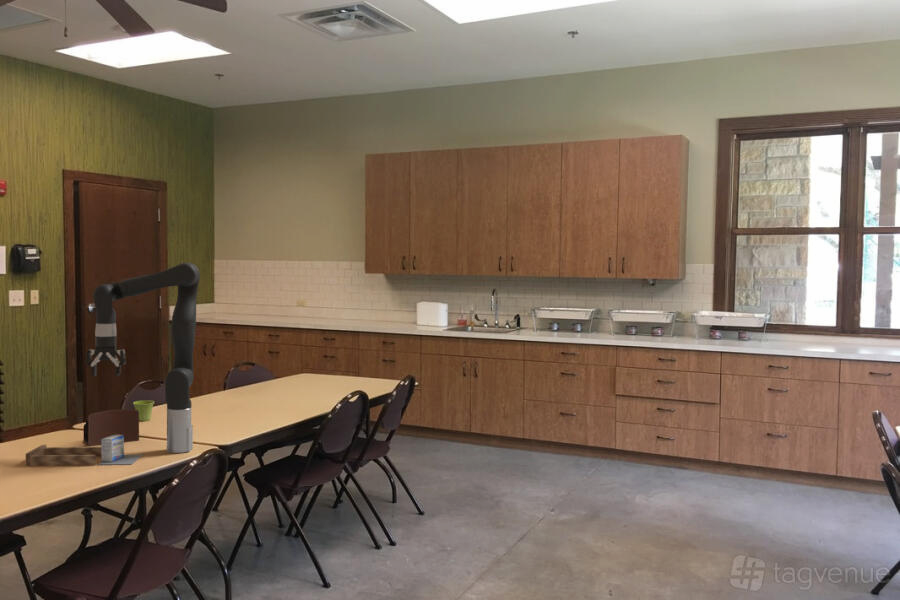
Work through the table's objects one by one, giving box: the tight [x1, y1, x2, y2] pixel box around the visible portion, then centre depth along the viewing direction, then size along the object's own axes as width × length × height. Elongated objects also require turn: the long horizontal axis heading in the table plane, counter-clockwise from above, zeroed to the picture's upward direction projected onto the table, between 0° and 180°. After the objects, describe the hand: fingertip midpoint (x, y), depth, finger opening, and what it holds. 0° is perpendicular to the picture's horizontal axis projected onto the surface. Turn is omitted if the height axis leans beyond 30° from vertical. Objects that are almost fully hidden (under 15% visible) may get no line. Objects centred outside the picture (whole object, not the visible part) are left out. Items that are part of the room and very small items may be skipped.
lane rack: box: [25, 444, 101, 467], centre depth 277 cm, size 24×14×4 cm, turn 97°
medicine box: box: [100, 435, 125, 462], centre depth 279 cm, size 8×4×9 cm, turn 171°
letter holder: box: [83, 408, 140, 447], centre depth 309 cm, size 10×20×14 cm, turn 126°
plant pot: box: [132, 400, 155, 422], centre depth 352 cm, size 9×9×9 cm
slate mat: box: [97, 454, 144, 466], centre depth 279 cm, size 12×14×1 cm
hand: (106, 375), depth 291 cm, fingers open, 8 cm apart
